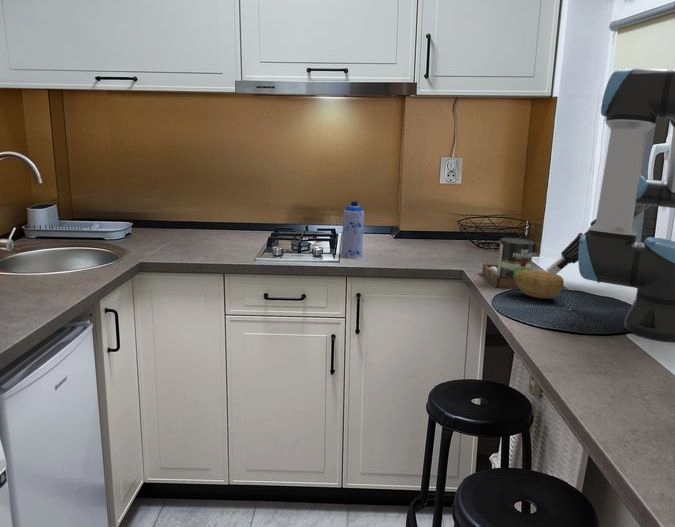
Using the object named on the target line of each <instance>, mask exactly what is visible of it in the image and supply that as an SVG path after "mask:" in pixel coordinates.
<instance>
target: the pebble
mask: <svg viewBox="0 0 675 527" xmlns="http://www.w3.org/2000/svg"><path fill="white" fill-rule="evenodd" d="M490 269H491V270H492V271H493V272H494V273H495V274H496V275H497V268H496V267H494V266H492V267H490Z"/></svg>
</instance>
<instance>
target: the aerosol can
mask: <svg viewBox="0 0 675 527" xmlns="http://www.w3.org/2000/svg"><path fill="white" fill-rule="evenodd" d="M358 203H359V202H358V201H355V200H354V201H353V200H352V201H351V202H350V204H349V205H348V206H346V207H345V208H344V209H343V218H342V233H341V235H342V236H341V254H340V257H341V258H345V259H349V260H356V259H358V260H359V259H361V258H363V244H364V242H363V240H364V222H365V211H364V209H363V207H361V206H360V205H359V204H358Z"/></svg>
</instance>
